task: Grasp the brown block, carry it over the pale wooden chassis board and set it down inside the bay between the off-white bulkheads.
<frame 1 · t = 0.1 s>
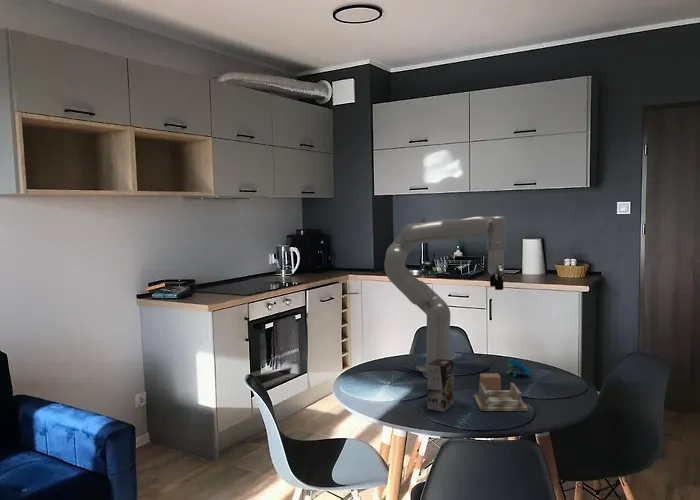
hand: (496, 288, 232), 37 cm above the table, tool pointing down, fingers open, 9 cm apart
chassis: (499, 404, 202), on the table
coffee box: (440, 407, 201), on the table
toy dinosaur: (518, 376, 235), on the table
brown block: (490, 389, 219), on the table
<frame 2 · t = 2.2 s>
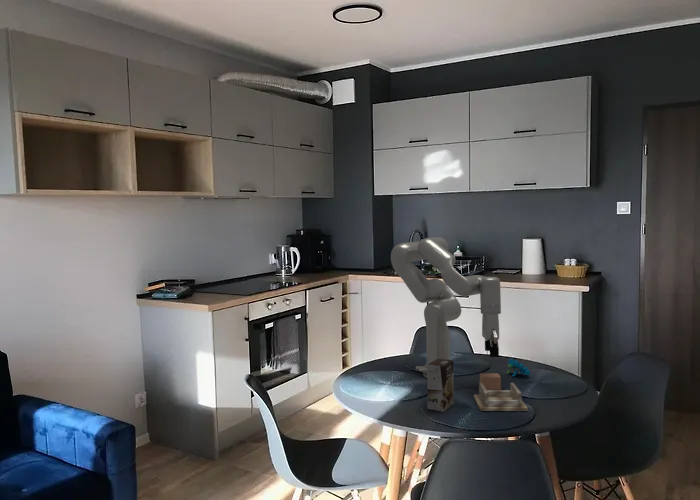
hand: (491, 353, 217), 14 cm above the table, tool pointing down, fingers open, 9 cm apart
nothing on the table moved.
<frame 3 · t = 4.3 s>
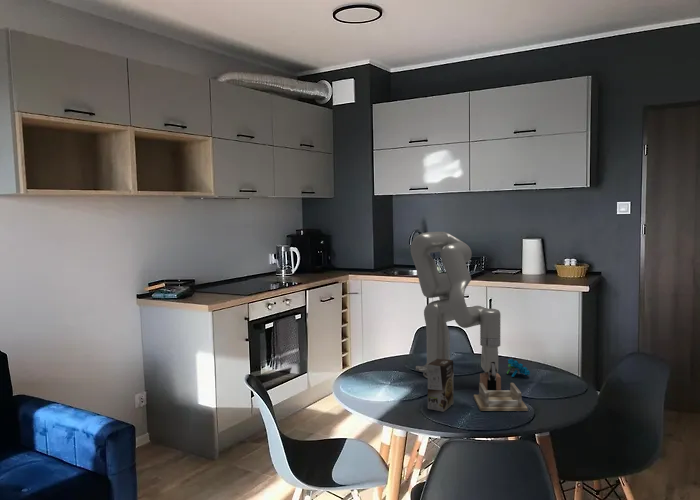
hand: (490, 387, 219), 1 cm above the table, tool pointing down, fingers closed on brown block, 5 cm apart
brown block: (490, 389, 219), on the table, touching gripper
everything else where it was.
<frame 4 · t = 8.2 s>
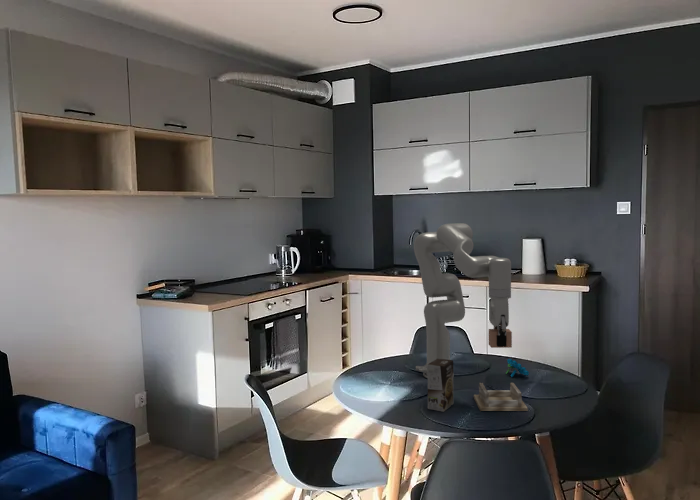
hand: (499, 343, 200), 22 cm above the table, tool pointing down, fingers closed on brown block, 5 cm apart
brown block: (499, 345, 200), point 21 cm above the table, touching gripper
everything else where it was.
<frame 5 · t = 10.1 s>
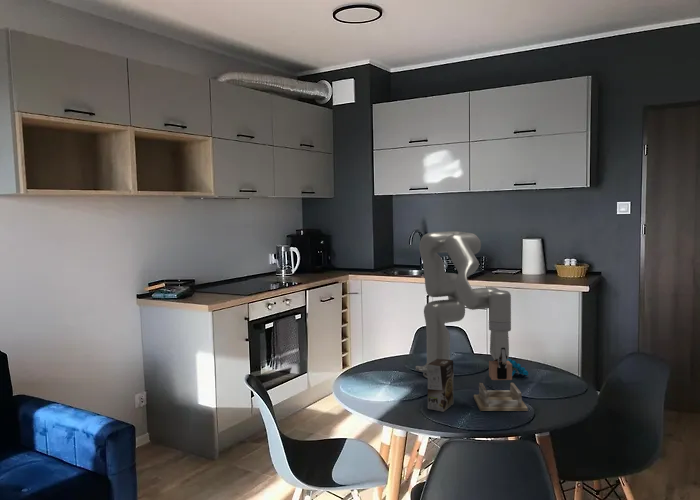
hand: (500, 375, 201), 10 cm above the table, tool pointing down, fingers closed on brown block, 5 cm apart
brown block: (500, 377, 201), point 10 cm above the table, touching gripper
when the fingers open (3 cm above the table, at t = 11.9 s): brown block drops 1 cm, resting on chassis.
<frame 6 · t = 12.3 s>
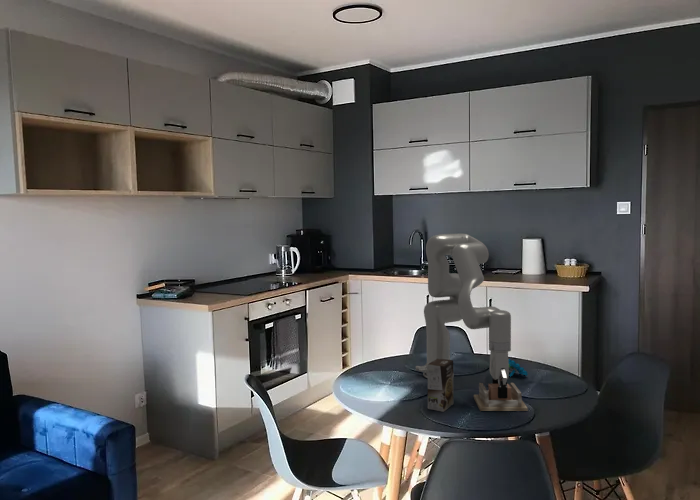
hand: (499, 393, 201), 4 cm above the table, tool pointing down, fingers open, 8 cm apart
brown block: (499, 401, 202), point 1 cm above the table, touching chassis
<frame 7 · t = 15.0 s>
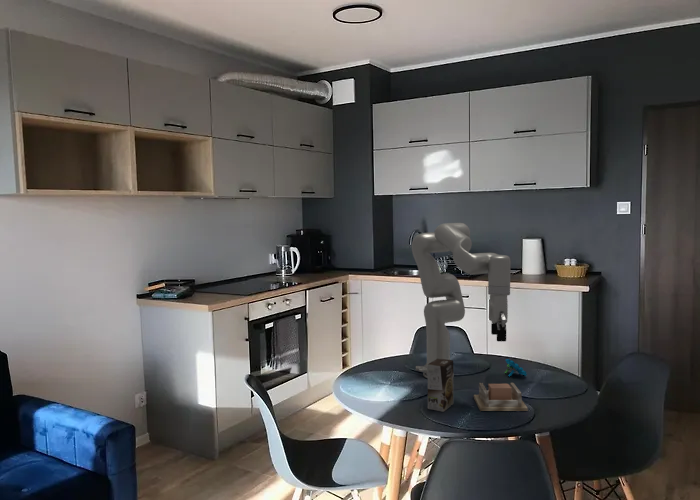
hand: (498, 337, 202), 24 cm above the table, tool pointing down, fingers open, 9 cm apart
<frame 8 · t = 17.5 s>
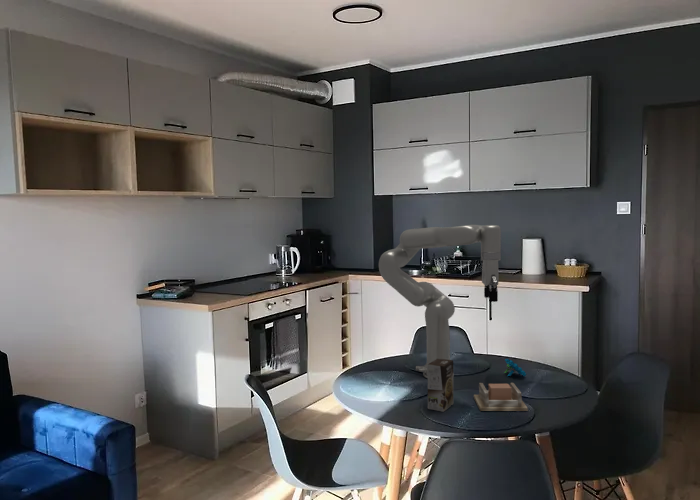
hand: (490, 299, 225), 33 cm above the table, tool pointing down, fingers open, 9 cm apart
at the end: brown block 0.1 cm off-centre on the chassis, point 1.2 cm above the chassis's base; brown block tilted 0°; the gripper is holding nothing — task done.
